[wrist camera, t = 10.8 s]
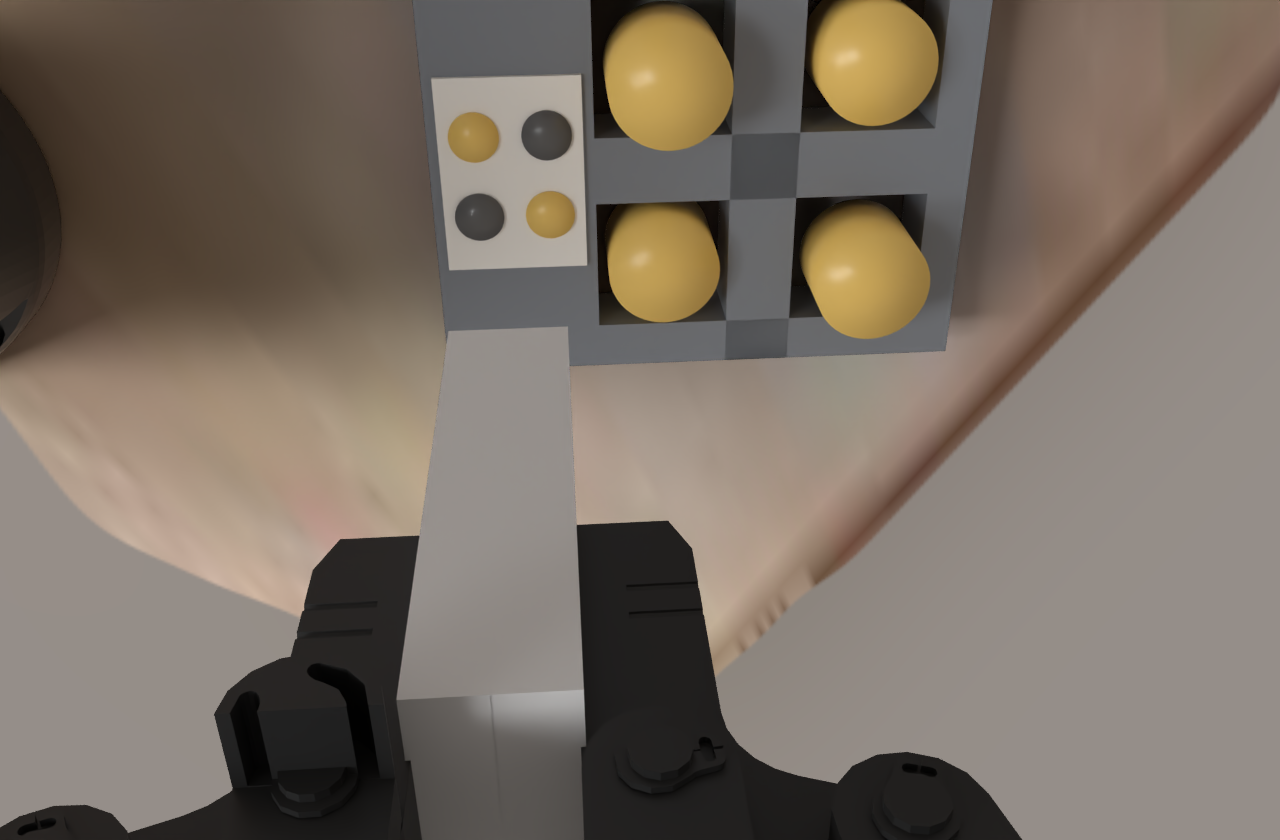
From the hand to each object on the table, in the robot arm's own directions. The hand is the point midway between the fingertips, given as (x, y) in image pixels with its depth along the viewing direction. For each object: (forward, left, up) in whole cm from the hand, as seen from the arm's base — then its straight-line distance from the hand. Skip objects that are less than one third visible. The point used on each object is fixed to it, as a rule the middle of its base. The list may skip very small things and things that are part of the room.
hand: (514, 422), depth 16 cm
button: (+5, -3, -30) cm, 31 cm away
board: (+6, -7, -32) cm, 34 cm away
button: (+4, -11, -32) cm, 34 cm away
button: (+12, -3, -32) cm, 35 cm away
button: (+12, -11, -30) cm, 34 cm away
